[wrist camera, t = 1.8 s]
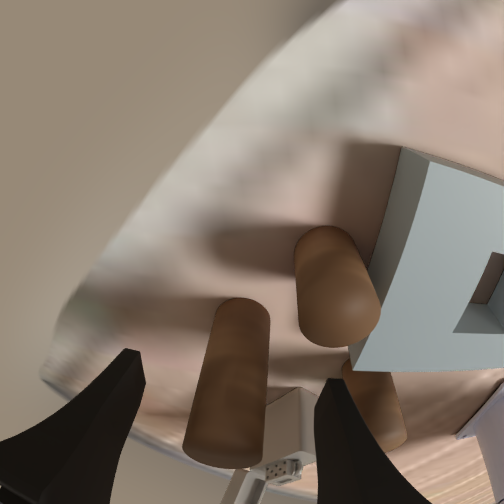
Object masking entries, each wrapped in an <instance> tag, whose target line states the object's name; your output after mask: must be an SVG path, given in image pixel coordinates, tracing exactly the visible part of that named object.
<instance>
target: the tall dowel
mask: <svg viewBox="0 0 504 504" xmlns="http://www.w3.org/2000/svg"><path fill="white" fill-rule="evenodd" d="M269 339H270V315H269V313H268V311H267V310H266V309H265V308H264V307H263V306H262V305H261V304H260V303H258V302H256V301H254V300H251V299H246V298H235V299H230V300H228V301H226V302H224V303H223V304H221V305H220V306H219V308H218V309H217V311H216V314H215V318H214V322H213V326H212V330H211V333H210V337H209V341H208V345H207V349H206V353H205V357H204V361H203V365H202V369H201V373H200V377H199V380H198V384H197V388H196V392H195V396H194V400H193V405H192V409H191V413H190V417H189V421H188V425H187V429H186V433H185V437H184V441H183V446H182V448H183V451H184V452H185V453H186V454H187V455H188V456H189V457H190V458H192V459H194V460H196V461H198V462H200V463H202V464H205V465H209V466H213V467H217V468H224V469H243V468H249V467H252V466H255V465H257V464H259V463H260V462H261V461H262V458H263V443H264V428H265V412H266V395H267V378H268V359H269Z"/></svg>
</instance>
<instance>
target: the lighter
mask: <svg viewBox="0 0 504 504" xmlns="http://www.w3.org/2000/svg"><path fill="white" fill-rule="evenodd" d="M317 400H318V397H317V395H315V394H313V393H311V392H309V391H307V390H305V389H303V388H302V387H299V388H296V389H294V390H292V391H291V392H289V393H287V394H286V395H284V396H282V397H281V398H279V399H277V400H276V401H274V402H272V403H271V404H269V405H267V406H266V412H265V428H264V443H263V458H262V461H261V462H260V463H259V464H257V465H255V466H252V467H250V471H248V470H245V469H235V471H234V474H233V476H232V478H231V481H230V483H229V485H228V488H227V490H226V492H225V494H224V497H223V499H222V501H221V503H220V504H260V502H261V500H262V497H263V495H264V493H265V491H266V488H267V486H268V483H269V484H273V485H276V486H281V485H284V484H287V483H291V482H294V481H297V480H300V479H301V473H302V470H303V466H305V465H308V464H310V463H313V462H315V461H316V451H315V440H314V407H315V405H316V402H317Z"/></svg>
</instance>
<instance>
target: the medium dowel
mask: <svg viewBox="0 0 504 504" xmlns="http://www.w3.org/2000/svg"><path fill="white" fill-rule="evenodd" d="M342 376H343V380H344V381H345V383H346V385H347V387H348V390H349V392H350V394H351V396H352V398H353V400H354V402H355V404H356V406H357V408H358V410H359V412H360V414H361V415H362V417H363V419H364V421H365V423H366V424H367V426H368V428H369V430H370V431H371V433H372V435H373V436H374V438H375V439H376V441H377V443H378V444H379V446H380V447H381V449H382V450H383V452H384V453H386V452H389V451H391V450H393V449H395V448H397V447H399V446H400V445H402V444H403V443H404V442H405V441H406V439H407V432H406V428H405V424H404V420H403V416H402V412H401V408H400V404H399V401H398V397H397V393H396V390H395V386H394V383H393V379H392V376H391V372H381V371H354V370H352V365H351V360H350V359H348V360H347V361H346V362H345V364H344V365H343V367H342Z"/></svg>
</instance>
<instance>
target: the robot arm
mask: <svg viewBox="0 0 504 504" xmlns="http://www.w3.org/2000/svg"><path fill="white" fill-rule="evenodd" d="M145 385H146V381H145V376H144V371H143V366H142V360H141V355H140V351H136V350H132V349H128V348H125V349H123V351H122V352H121V353H120V354H119V355H118V356H117V357H116V358H115V359H114V360H113V361H112V362H111V363H110V364H109V365H108V366H107V368H106V369H105V370H104V371H103V372H102V373H101V374H100V375H99V376H98V377H97V378H96V379H94V380H93V381H92V382H91V383H90V384H89V385H88V386H87V387H86V388H85V389H84V390H83V391H82V392H80V393H79V394H78V395H77V396H76V397H75V398H74V399H72V400H71V401H70V402H69V403H67V404H66V405H65V406H64V407H62V408H61V409H60V410H58V411H57V412H56V413H54V414H53V415H51V416H49V417H48V418H46V419H45V420H43V421H42V422H40V423H39V424H37V425H35V426H33V427H31V428H29V429H28V430H26V431H24V432H22V433H20V434H18V435H16V436H14V437H11V438H8V439H6V440H3V441H1V442H0V485H1V488H0V504H109V503H110V497H111V491H112V487H113V482H114V477H115V473H116V469H117V465H118V461H119V458H120V454H121V451H122V448H123V446H124V443H125V441H126V438H127V436H128V433H129V431H130V429H131V426H132V424H133V421H134V419H135V416H136V414H137V411H138V409H139V406H140V403H141V400H142V396H143V392H144V389H145ZM473 436H476V437H477V440H478V443H479V446H480V449H481V452H482V455H483V458H484V462H485V465H486V468H487V472H488V475H489V479H490V482H491V486H492V490H493V493H494V497H495V502H496V504H504V382H503V383H502V384H501V385H500V387H499V388H498V389H497V390H496V391H495V393H494V394H493V395H492V396H491V397H490V399H489V400H488V401H487V402H486V403H485V404H484V406H483V407H482V408H481V409H480V410H479V411H478V412H477V413H476V414H475V415H474V417H473V418H472V419H471V420H470V421H469V422H468V423H467V424H466V425H465V426H464V427H463V428H462V429H461V430H460V431H459V432H458V433H457V434H456V435H455V438H456V439H457V440H459V439H464V438H469V437H473ZM314 440H315V451H316V462H317V473H318V500H317V504H432V503H431V502H429V501H428V500H427V499H426V498H425V497H423V496H422V495H421V494H420V493H419V492H418V491H417V490H416V489H415V488H414V487H413V486H412V485H411V484H410V483H409V482H408V481H407V480H406V479H405V478H404V477H403V476H402V475H401V473H400V472H399V471H398V470H397V469H396V467H395V466H394V465H393V464H392V462H391V461H390V460H389V458H388V457H387V456H386V454H385V453H384V452H383V450H382V449H381V447H380V446H379V444H378V443H377V441H376V439H375V438H374V436H373V435H372V433H371V431H370V430H369V428H368V426H367V424H366V423H365V421H364V419H363V417H362V415H361V414H360V412H359V410H358V408H357V406H356V404H355V402H354V400H353V398H352V396H351V394H350V392H349V390H348V387H347V385H346V383H345V381H344V380H343V379H332V378H328V379H327V381H326V383H325V386H324V388H323V390H322V392H321V394H320V396H319V398H318V400H317V402H316V405H315V407H314Z"/></svg>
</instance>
